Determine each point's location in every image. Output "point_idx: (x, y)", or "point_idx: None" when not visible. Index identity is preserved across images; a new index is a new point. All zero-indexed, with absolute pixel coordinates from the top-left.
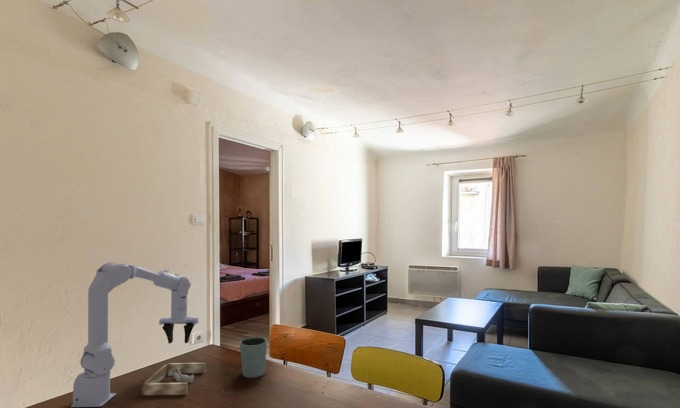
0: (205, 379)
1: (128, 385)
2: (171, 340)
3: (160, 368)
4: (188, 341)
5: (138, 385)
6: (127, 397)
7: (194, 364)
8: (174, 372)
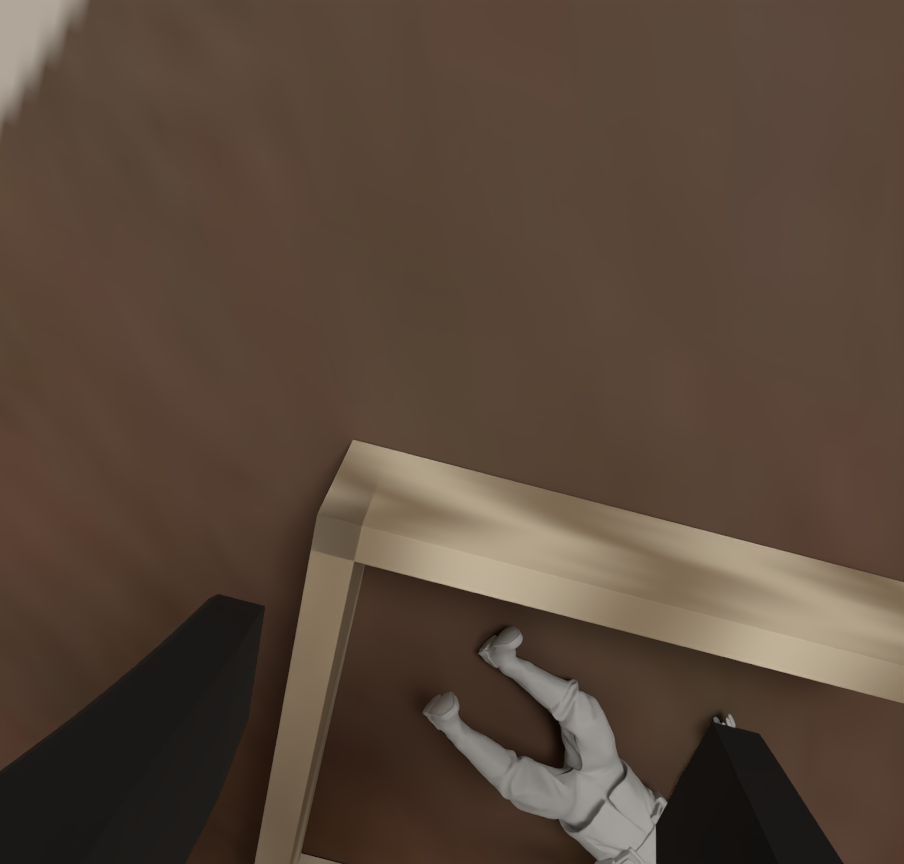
0: (879, 773)
1: (40, 652)
2: (233, 718)
3: (291, 677)
4: (762, 756)
5: None
6: None
7: (785, 665)
8: (511, 797)
